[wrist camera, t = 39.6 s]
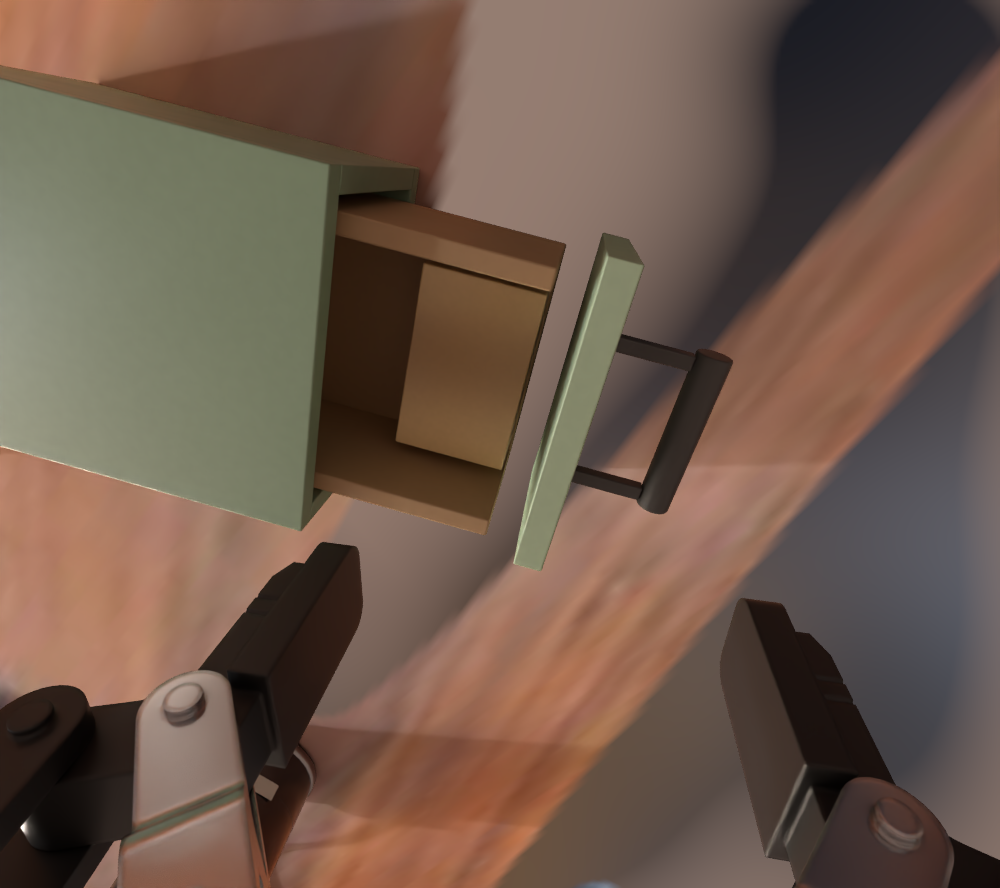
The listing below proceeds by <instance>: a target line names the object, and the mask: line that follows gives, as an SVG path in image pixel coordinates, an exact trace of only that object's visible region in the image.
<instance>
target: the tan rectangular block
mask: <svg viewBox="0 0 1000 888" xmlns="http://www.w3.org/2000/svg"><path fill="white" fill-rule="evenodd" d="M549 294H550V291H545V290H541V289H537V288H534V287H530V286H526V285H522V284H519V283H515V282H511V281H507V280H504V279H500V278H496V277H492V276H489V275H485V274H481V273H477V272H473V271H470V270H466V269H462V268H458V267H455V266H451V265H447V264H443V263H440V262H436V261H432V260H428V261H426V262H424V263H423V267H422V274H421V280H420V286H419V293H418V299H417V305H416V312H415V318H414V324H413V331H412V337H411V343H410V350H409V356H408V362H407V369H406V375H405V381H404V388H403V394H402V400H401V407H400V413H399V419H398V426H397V432H396V438H395V440H396V441H397V442H400V443H404V444H408V445H411V446H415V447H419V448H422V449H426V450H430V451H433V452H437V453H441V454H444V455H448V456H451V457H455V458H459V459H462V460H466V461H470V462H473V463H477V464H481V465H484V466H488V467H492V468H495V469H499V470H501V469H502V467H503V464H504V460H505V457H506V454H507V451H508V447H509V444H510V441H511V437H512V434H513V430H514V426H515V422H516V419H517V415H518V411H519V407H520V403H521V400H522V396H523V392H524V388H525V385H526V381H527V377H528V373H529V370H530V366H531V362H532V358H533V355H534V351H535V347H536V343H537V340H538V336H539V332H540V328H541V324H542V321H543V317H544V313H545V309H546V306H547V302H548V298H549Z"/></svg>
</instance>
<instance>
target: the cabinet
mask: <svg viewBox="0 0 1000 888" xmlns="http://www.w3.org/2000/svg"><path fill="white" fill-rule="evenodd" d="M418 177H419V168H418V167H414V166H410V165H406V164H402V163H398V162H394V161H391V160H387V159H383V158H379V157H375V156H371V155H368V154H364V153H360V152H356V151H352V150H348V149H345V148H341V147H337V146H333V145H329V144H325V143H322V142H318V141H314V140H310V139H306V138H302V137H299V136H295V135H291V134H287V133H283V132H279V131H276V130H272V129H268V128H264V127H260V126H256V125H253V124H249V123H245V122H241V121H237V120H233V119H230V118H226V117H222V116H218V115H214V114H210V113H207V112H203V111H199V110H195V109H191V108H187V107H184V106H180V105H176V104H172V103H168V102H164V101H161V100H157V99H153V98H149V97H145V96H141V95H138V94H134V93H130V92H126V91H122V90H118V89H115V88H111V87H107V86H103V85H99V84H95V83H91V82H86V81H81V80H75V79H70V78H65V77H59V76H54V75H49V74H43V73H38V72H33V71H27V70H22V69H17V68H11V67H6V66H1V65H0V446H1V447H5V448H8V449H12V450H15V451H19V452H22V453H26V454H29V455H33V456H36V457H40V458H43V459H47V460H51V461H54V462H58V463H61V464H65V465H68V466H72V467H75V468H79V469H82V470H86V471H89V472H93V473H97V474H100V475H104V476H107V477H111V478H114V479H118V480H121V481H125V482H128V483H132V484H135V485H139V486H142V487H146V488H150V489H153V490H157V491H160V492H164V493H167V494H171V495H174V496H178V497H181V498H185V499H188V500H192V501H195V502H199V503H203V504H206V505H210V506H213V507H217V508H220V509H224V510H227V511H231V512H234V513H238V514H241V515H245V516H249V517H252V518H256V519H259V520H263V521H266V522H270V523H273V524H277V525H280V526H284V527H287V528H291V529H294V530H298V531H302V530H303V528H304V527H305V526H306V525H307V524H308V522H309V521H310V520H311V519H312V517H313V516H314V515H315V514H316V513H317V511H318V510H319V509H320V508H321V506H322V505H323V504H324V503H325V502H326V500H327V499H328V498H329V497H330V495H331V494H332V492H328V491H325V490H321V489H318V488H314V487H313V486H314V474H315V463H316V452H317V440H318V429H319V417H320V406H321V394H322V383H323V371H324V360H325V349H326V337H327V326H328V314H329V303H330V291H331V280H332V269H333V257H334V246H335V234H336V223H337V211H338V200H339V195H344V194H357V193H374V194H378V195H382V196H386V197H389V198H393V199H397V200H401V201H405V202H408V203H412V204H415V198H416V191H417V184H418Z"/></svg>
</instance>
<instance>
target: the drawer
mask: <svg viewBox="0 0 1000 888" xmlns="http://www.w3.org/2000/svg"><path fill="white" fill-rule="evenodd" d="M565 248H566V244H564V243H561V242H557V241H553V240H549V239H545V238H542V237H537V236H534V235H530V234H526V233H522V232H519V231H515V230H511V229H507V228H503V227H500V226H496V225H492V224H488V223H484V222H480V221H477V220H473V219H469V218H465V217H462V216H458V215H454V214H450V213H446V212H443V211H439V210H435V209H431V208H427V207H424V206H420V205H416V204H412V203H408V202H405V201H401V200H397V199H393V198H389V197H386V196H382V195H378V194H374V193H357V194H344V195H339V200H338V211H337V223H336V234H335V246H334V257H333V269H332V280H331V291H330V303H329V314H328V326H327V337H326V349H325V360H324V371H323V383H322V394H321V406H320V417H319V429H318V440H317V452H316V463H315V474H314V486H313V487H314V488H318V489H321V490H325V491H328V492H332V493H335V494H339V495H343V496H346V497H350V498H353V499H357V500H360V501H364V502H368V503H371V504H375V505H378V506H382V507H385V508H389V509H393V510H396V511H400V512H403V513H407V514H410V515H414V516H418V517H421V518H425V519H429V520H432V521H436V522H439V523H443V524H446V525H450V526H453V527H457V528H460V529H464V530H468V531H471V532H475V533H478V534H482V535H486V534H487V530H488V527H489V524H490V520H491V517H492V513H493V510H494V506H495V503H496V500H497V496H498V493H499V489H500V486H501V482H502V479H503V476H504V472H505V469H506V465H507V462H508V458H509V455H510V451H511V448H512V444H513V440H514V436H515V433H516V429H517V425H518V422H519V418H520V414H521V411H522V407H523V403H524V399H525V396H526V392H527V388H528V385H529V381H530V377H531V373H532V369H533V366H534V363H535V359H536V355H537V351H538V348H539V344H540V340H541V337H542V333H543V329H544V325H545V322H546V318H547V314H548V311H549V307H550V303H551V299H552V296H553V292H554V288H555V285H556V281H557V277H558V274H559V270H560V266H561V263H562V259H563V255H564V251H565ZM428 260H432V261H436V262H440V263H443V264H447V265H451V266H455V267H458V268H462V269H466V270H470V271H473V272H477V273H481V274H485V275H489V276H492V277H496V278H500V279H504V280H507V281H511V282H515V283H519V284H522V285H526V286H530V287H534V288H537V289H541V290H545V291H550V294H549V298H548V302H547V306H546V309H545V313H544V317H543V321H542V324H541V328H540V332H539V336H538V340H537V343H536V347H535V351H534V355H533V358H532V362H531V366H530V370H529V373H528V377H527V381H526V385H525V388H524V392H523V396H522V400H521V403H520V407H519V411H518V415H517V419H516V422H515V426H514V430H513V434H512V437H511V441H510V444H509V447H508V451H507V454H506V457H505V460H504V464H503V467H502V469H501V470H499V469H495V468H492V467H488V466H484V465H481V464H477V463H473V462H470V461H466V460H462V459H459V458H455V457H451V456H448V455H444V454H441V453H437V452H433V451H430V450H426V449H422V448H419V447H415V446H411V445H408V444H404V443H400V442H397V441H396V440H395V438H396V432H397V426H398V419H399V413H400V407H401V400H402V394H403V388H404V381H405V375H406V369H407V362H408V356H409V350H410V343H411V337H412V331H413V324H414V318H415V312H416V305H417V299H418V293H419V286H420V280H421V274H422V267H423V263H424V262H426V261H428ZM643 269H644V264H643V263H642V261H641V259H640V258H639V256H638V254H637V252H636V251H635V249H634V248H633V246H632V244H631V243H630V241H629V239H626V238H622V237H618V236H614V235H610V234H606V233H603V234H602V237H601V241H600V244H599V248H598V251H597V255H596V257H595V261H594V264H593V268H592V271H591V274H590V278H589V281H588V284H587V288H586V291H585V294H584V298H583V301H582V305H581V308H580V311H579V315H578V318H577V322H576V325H575V328H574V332H573V335H572V338H571V342H570V345H569V348H568V352H567V355H566V359H565V362H564V365H563V369H562V372H561V376H560V379H559V382H558V386H557V389H556V392H555V396H554V399H553V403H552V406H551V409H550V413H549V416H548V419H547V423H546V426H545V430H544V433H543V436H542V440H541V443H540V446H539V450H538V453H537V456H536V460H535V463H534V467H533V470H532V473H531V478H530V484H529V488H528V494H527V498H526V504H525V508H524V513H523V518H522V523H521V529H520V533H519V539H518V543H517V548H516V553H515V558H514V564H516V565H520V566H523V567H527V568H530V569H534V570H537V571H541V570H542V568H543V565H544V562H545V559H546V556H547V553H548V550H549V547H550V544H551V541H552V538H553V535H554V532H555V529H556V526H557V523H558V520H559V517H560V514H561V511H562V508H563V505H564V503H565V500H566V497H567V494H568V490H569V487H570V485H571V482H574V483H578V484H581V485H585V486H588V487H592V488H596V489H599V490H603V491H607V492H610V493H614V494H617V495H621V496H625V497H628V498H632V499H636V500H637V503H638V504H639V505H640V506H641V507H642V508H643V509H645V510H647V511H649V512H651V513H655V514H664V513H666V512H667V511H668V509H669V506H670V504H671V502H672V500H673V497H674V495H675V493H676V491H677V488H678V486H679V484H680V482H681V479H682V477H683V475H684V473H685V470H686V468H687V466H688V464H689V461H690V459H691V457H692V454H693V452H694V450H695V448H696V445H697V443H698V441H699V439H700V436H701V434H702V432H703V430H704V427H705V425H706V423H707V421H708V418H709V416H710V414H711V412H712V409H713V407H714V405H715V403H716V400H717V398H718V396H719V394H720V391H721V389H722V387H723V385H724V382H725V380H726V378H727V376H728V373H729V371H730V369H731V367H732V364H733V360H732V359H730V358H729V357H727V356H726V355H723V354H721V353H718V352H715V351H712V350H707V349H698V350H697V351H696V354H695V355H694V354H693V353H691V352H686V351H683V350H679V349H676V348H672V347H668V346H664V345H660V344H657V343H653V342H649V341H645V340H642V339H638V338H634V337H631V336H627V335H623V334H622V331H623V328H624V325H625V321H626V319H627V316H628V313H629V310H630V307H631V304H632V301H633V298H634V295H635V292H636V289H637V286H638V283H639V280H640V278H641V275H642V271H643ZM615 352H619V353H622V354H626V355H630V356H634V357H637V358H641V359H645V360H649V361H652V362H656V363H660V364H663V365H667V366H671V367H675V368H678V369H682V370H686V371H688V373H687V376H686V378H685V381H684V383H683V385H682V388H681V390H680V393H679V395H678V398H677V400H676V403H675V405H674V408H673V410H672V412H671V415H670V417H669V420H668V422H667V425H666V427H665V430H664V432H663V434H662V437H661V439H660V442H659V444H658V447H657V449H656V452H655V454H654V457H653V459H652V461H651V464H650V466H649V469H648V471H647V474H646V476H645V479H644V481H643V484H642V485H641V483H640V482H637V481H633V480H629V479H626V478H622V477H618V476H615V475H611V474H607V473H604V472H600V471H597V470H593V469H589V468H586V467H582V466H578V465H577V464H578V461H579V458H580V455H581V452H582V449H583V446H584V443H585V440H586V437H587V434H588V431H589V428H590V426H591V423H592V419H593V417H594V414H595V411H596V408H597V405H598V402H599V399H600V396H601V393H602V390H603V387H604V384H605V381H606V378H607V375H608V372H609V369H610V366H611V363H612V360H613V357H614V354H615Z"/></svg>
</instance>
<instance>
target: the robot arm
mask: <svg viewBox="0 0 1000 888" xmlns="http://www.w3.org/2000/svg"><path fill="white" fill-rule="evenodd" d="M362 608H363V596H362V583H361V571H360V558H359V551H358V548H357V547H355V546H350V545H341V544H334V543H327V542H322V543H320V544H319V545H318V546H317V547H316V549H315V550H314V551H313V553H312V554H311V555H310V557H309V558H308V559H307V561H306V562H305V564H304V563H296V562H293V563H292V564H290V565H289V566H287V567H286V568H284V569H283V570H281V571H280V572H278V573H277V574H275V575H274V576H272V578H271V579H270V580H269V581H268V583H267V584H266V585H265V586H264V588H263V589H262V590H261V591H260V593H259V594H258V598H255V599H254V600H253V602H252V603H251V604H250V605H249V607H248V608H247V611H246V613H243V614H242V615H241V617H240V618H239V619H238V620H237V622H236V623H235V624H234V625H233V627H232V628H231V629H230V631H229V632H228V633H227V634H226V636H225V637H224V638H223V639H222V641H221V642H220V643H219V644H218V646H217V647H216V648H215V649H214V651H213V652H212V653H211V654H210V656H209V657H208V658H207V659H206V661H205V662H204V663H203V665H202V666H201V667H200V668H199V669H198V670H197V671H191V672H187V673H183V674H181V675H178V676H175V677H173V678H171V679H169V680H167V681H166V682H164V683H163V684H161V685H160V686H158V687H157V688H156V689H154V690H153V691H152V692H151V693H150V694H149V695H148V696H147V697H146V699H145V700H140V701H133V702H126V703H118V704H110V705H102V706H94V707H90V706H89V703H88V701H87V698H86V696H85V694H84V693H83V692H82V691H81V690H80V689H78V688H76V687H73V686H68V685H58V686H50V687H46V688H42V689H39V690H35V691H33V692H30V693H28V694H25V695H23V696H21V697H19V698H17V699H16V700H14V701H12V702H11V703H9V704H7V705H6V706H5V707H3V708H2V709H1V710H0V888H84V886H85V885H86V883H87V881H88V880H89V878H90V877H91V875H92V874H93V872H94V871H95V869H96V868H97V866H98V865H99V863H100V862H101V860H102V859H103V857H104V856H105V854H106V853H107V851H108V850H109V848H110V846H111V845H112V843H113V842H114V841H116V840H121V844H120V849H119V859H118V877H117V878H116V880H115V881H114V883H113V884H112V886H111V887H110V888H271V887H270V881H269V879H270V877H271V874H272V872H273V870H274V868H275V866H276V863H277V861H278V859H279V857H280V855H281V852H282V850H283V848H284V846H285V844H286V842H287V839H288V837H289V835H290V833H291V831H292V829H293V827H294V824H295V822H296V820H297V818H298V816H299V814H300V811H301V809H302V807H303V805H304V803H305V800H306V798H307V797H308V796H309V794H310V793H311V790H312V788H313V786H314V784H315V780H316V771H315V768H314V765H313V763H312V761H311V759H310V758H309V756H308V755H307V754H306V753H305V751H304V750H303V749H302V748H301V747H299V746H298V743H299V741H300V739H301V737H302V735H303V733H304V731H305V729H306V727H307V725H308V724H309V722H310V720H311V718H312V716H313V714H314V712H315V710H316V708H317V706H318V704H319V702H320V700H321V698H322V696H323V694H324V692H325V690H326V689H327V687H328V684H329V683H330V681H331V679H332V677H333V675H334V673H335V671H336V669H337V667H338V665H339V663H340V661H341V659H342V657H343V656H344V654H345V652H346V650H347V648H348V646H349V644H350V642H351V640H352V638H353V636H354V634H355V632H356V630H357V628H358V625H359V622H360V619H361V614H362ZM720 678H721V685H722V689H723V693H724V697H725V701H726V704H727V709H728V713H729V717H730V720H731V724H732V728H733V732H734V736H735V740H736V744H737V748H738V752H739V756H740V760H741V763H742V767H743V771H744V775H745V779H746V783H747V787H748V791H749V795H750V799H751V802H752V807H753V810H754V814H755V818H756V822H757V826H758V830H759V834H760V838H761V842H762V845H763V850H764V853H765V857H768V858H773V859H778V860H784V861H789V862H790V864H791V867H792V871H793V875H794V878H795V883H794V885H793V887H792V888H1000V860H998V859H996V858H994V857H991V856H989V855H987V854H985V853H982V852H980V851H978V850H976V849H973V848H971V847H969V846H967V845H964V844H962V843H960V842H958V841H956V840H954V839H953V838H951V837H949V836H948V834H947V833H946V830H945V829H944V827H943V826H942V825H941V823H940V822H939V820H938V819H937V818H936V817H935V815H934V814H933V813H932V812H931V811H930V810H929V809H928V808H927V807H926V806H925V805H924V804H923V803H921V802H920V801H919V800H918V799H916V798H915V797H914V796H912V795H911V794H910V793H908V792H907V791H905V790H903V789H901V788H900V787H898V786H896V784H895V783H894V781H893V779H892V777H891V775H890V773H889V771H888V769H887V767H886V765H885V763H884V761H883V759H882V757H881V755H880V753H879V751H878V749H877V747H876V745H875V743H874V741H873V739H872V737H871V735H870V733H869V731H868V729H867V727H866V725H865V723H864V721H863V719H862V717H861V715H860V713H859V711H858V709H857V707H856V705H853V699H852V697H851V695H850V693H849V691H848V689H847V687H846V685H845V684H843V679H842V677H841V675H840V673H839V671H838V669H837V667H836V665H835V663H834V661H833V659H832V657H831V655H830V654H829V653H828V652H827V651H826V650H825V649H824V648H823V647H822V646H821V645H820V644H819V643H818V642H817V641H816V640H815V639H814V638H813V637H812V636H811V635H810V634H809V633H801V632H795V629H794V627H793V625H792V623H791V621H790V618H789V616H788V614H787V612H786V609H785V608H784V606H783V605H782V604H781V603H776V602H768V601H760V600H753V599H745V598H741V599H740V600H739V601H738V602H737V605H736V607H735V611H734V614H733V617H732V621H731V625H730V627H729V631H728V634H727V637H726V640H725V644H724V647H723V650H722V655H721V661H720Z"/></svg>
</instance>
